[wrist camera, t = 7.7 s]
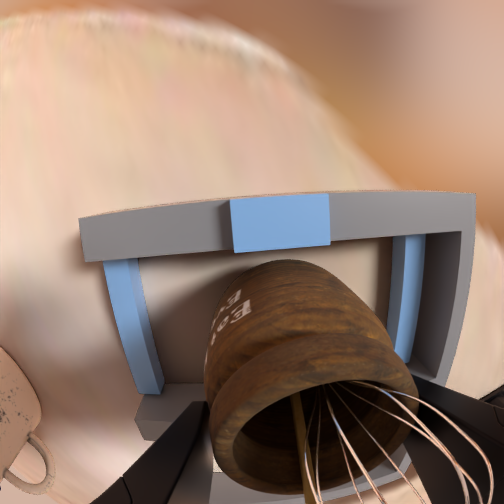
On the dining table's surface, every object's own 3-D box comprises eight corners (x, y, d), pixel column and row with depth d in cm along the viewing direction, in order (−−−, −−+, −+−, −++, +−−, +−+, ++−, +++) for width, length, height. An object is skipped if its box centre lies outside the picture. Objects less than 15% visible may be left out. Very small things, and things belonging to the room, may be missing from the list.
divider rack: (437, 190, 12) (484, 194, 9) (389, 452, 16) (405, 482, 13) (107, 212, 12) (65, 221, 8) (187, 481, 16) (182, 516, 12)
